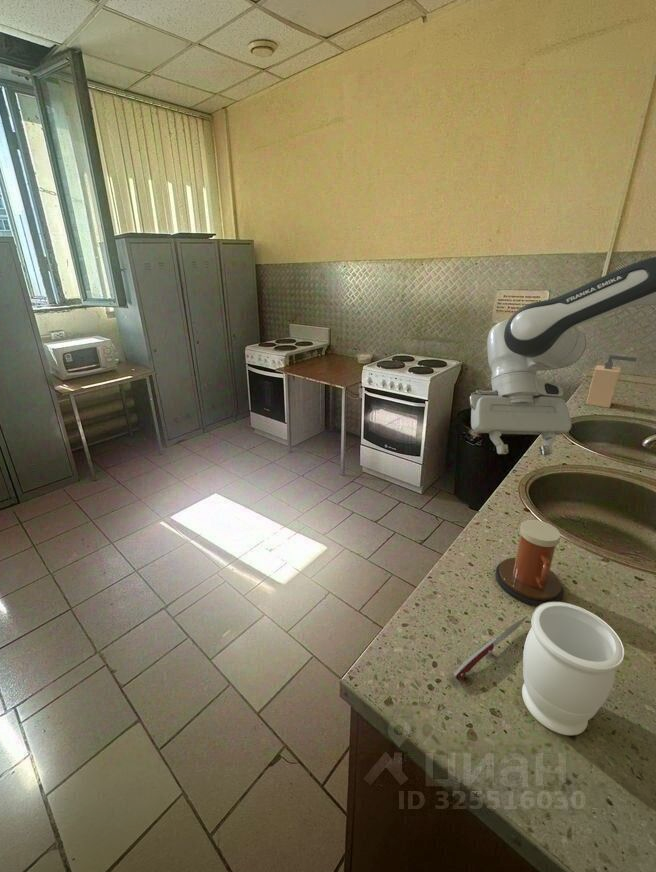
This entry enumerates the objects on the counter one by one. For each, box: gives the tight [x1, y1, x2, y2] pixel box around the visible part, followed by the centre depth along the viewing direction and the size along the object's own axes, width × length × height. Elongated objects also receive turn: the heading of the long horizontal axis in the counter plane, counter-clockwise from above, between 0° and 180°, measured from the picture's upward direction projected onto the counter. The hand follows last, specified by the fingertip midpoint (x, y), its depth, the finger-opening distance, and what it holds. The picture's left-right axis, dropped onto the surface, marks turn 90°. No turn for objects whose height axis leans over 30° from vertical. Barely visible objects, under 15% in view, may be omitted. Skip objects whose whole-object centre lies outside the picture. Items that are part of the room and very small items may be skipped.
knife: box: [452, 616, 528, 681], centre depth 66 cm, size 20×1×3 cm, turn 122°
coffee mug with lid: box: [499, 519, 562, 601], centre depth 78 cm, size 11×11×12 cm
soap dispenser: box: [585, 354, 638, 409], centre depth 172 cm, size 13×9×22 cm
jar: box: [521, 601, 625, 736], centre depth 56 cm, size 11×10×15 cm
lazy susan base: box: [494, 561, 564, 607], centre depth 80 cm, size 12×12×1 cm
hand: (524, 454), depth 82 cm, fingers open, 8 cm apart
